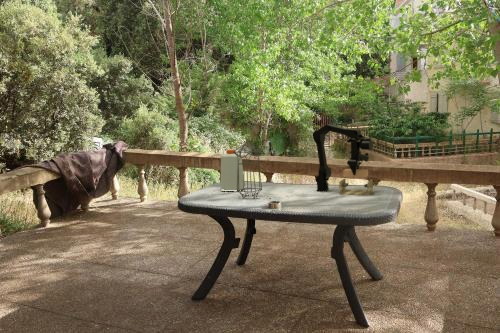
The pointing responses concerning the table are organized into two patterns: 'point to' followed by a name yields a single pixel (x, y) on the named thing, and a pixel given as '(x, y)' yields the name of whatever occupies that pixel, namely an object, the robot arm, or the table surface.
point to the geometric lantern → (250, 168)
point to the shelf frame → (355, 192)
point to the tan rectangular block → (358, 173)
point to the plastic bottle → (231, 171)
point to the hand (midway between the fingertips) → (355, 174)
